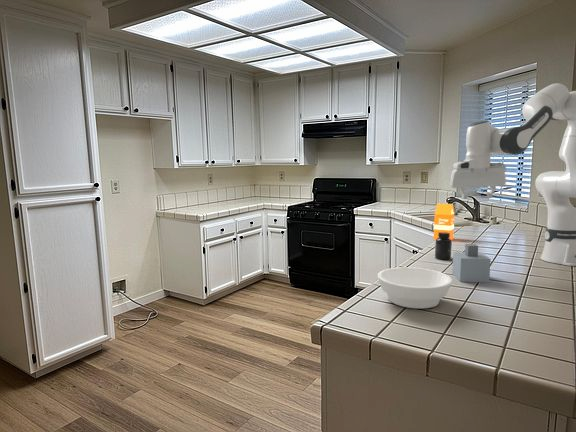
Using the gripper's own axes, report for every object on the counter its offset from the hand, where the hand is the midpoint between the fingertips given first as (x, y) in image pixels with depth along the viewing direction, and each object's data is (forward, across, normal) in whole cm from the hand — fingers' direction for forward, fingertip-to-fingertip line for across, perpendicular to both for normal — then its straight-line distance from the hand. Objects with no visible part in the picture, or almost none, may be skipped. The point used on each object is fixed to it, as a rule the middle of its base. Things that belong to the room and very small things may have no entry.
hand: (477, 198), depth 158 cm
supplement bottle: (+29, +9, -17) cm, 35 cm away
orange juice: (+30, -3, -62) cm, 69 cm away
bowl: (+28, +32, +41) cm, 59 cm away
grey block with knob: (+29, +6, +14) cm, 32 cm away
